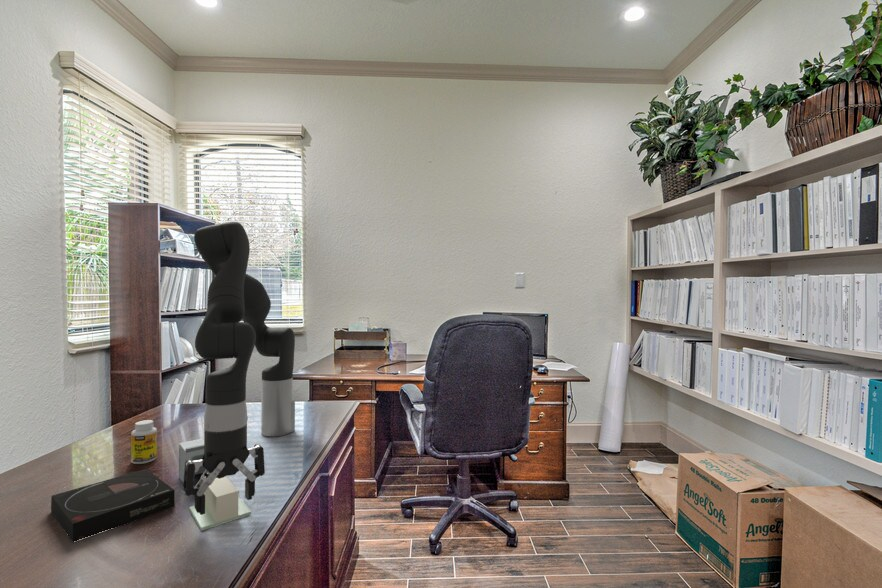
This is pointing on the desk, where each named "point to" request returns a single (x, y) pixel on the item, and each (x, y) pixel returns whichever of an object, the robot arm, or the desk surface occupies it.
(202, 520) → the mat
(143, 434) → the supplement bottle
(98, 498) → the portable cd player
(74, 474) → the desk surface
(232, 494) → the beige rectangular block
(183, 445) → the dispenser
